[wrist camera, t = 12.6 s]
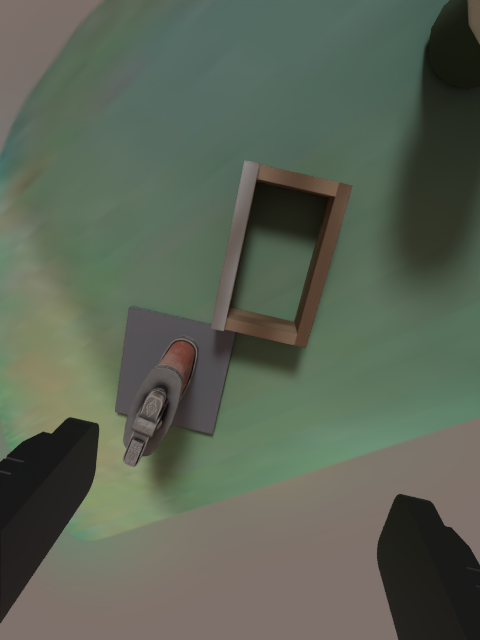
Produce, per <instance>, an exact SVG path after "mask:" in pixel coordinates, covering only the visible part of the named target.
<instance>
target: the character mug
mask: <svg viewBox="0 0 480 640" xmlns="http://www.w3.org/2000/svg"><path fill="white" fill-rule="evenodd" d="M428 54H429V57H430V61H431V64H432V67H433V70H434V72H435V73H436V74H437V75H438V76H439V77H440V78H441V79H443V80H444V81H445V82H446V83H447V84H448V85H453V86H457V87H462V88H467V89H468V88H472V87H476V86H480V0H450V1H449V2H448V3H447V4H446V5H444V7H443V9H442V10H441V12H440V14H439V16H438V17H437V19H436V21H435V23H434V25H433V26H432V28H431V35H430V41H429V48H428Z"/></svg>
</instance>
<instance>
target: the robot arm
mask: <svg viewBox="0 0 480 640" xmlns="http://www.w3.org/2000/svg"><path fill="white" fill-rule="evenodd" d="M98 438H99V425H98V424H97V423H93V422H89V421H84V420H80V419H76V418H71V417H70V418H67V419H66V420H65V421H64V422H63V423H62V424H61V425H60V426H59V427H58V428H57V429H56V430H55V431H54V432H53V433H52V434H50V433H46V432H42V433H39V434H37V435H35V436H33V437H31V438H29V439H27V440H25V441H23V442H22V443H21V444H19V445H18V446H17V447H16V448H15V449H14V450H13V451H12V452H11V453H10V454H8V455H7V458H6V459H3V460H2V461H1V462H0V623H1V622H2V620H3V619H4V617H5V616H6V614H7V613H8V611H9V610H10V608H11V607H12V605H13V604H14V603H15V601H16V599H17V598H18V596H19V595H20V594H21V592H22V590H23V589H24V588H25V586H26V585H27V583H28V582H29V580H30V579H31V577H32V576H33V574H34V573H35V571H36V570H37V568H38V567H39V565H40V564H41V562H42V561H43V559H44V558H45V556H46V555H47V553H48V552H49V550H50V549H51V547H52V546H53V544H54V543H55V541H56V540H57V539H58V537H59V536H60V534H61V533H62V531H63V530H64V528H65V527H66V525H67V524H68V522H69V521H70V519H71V518H72V516H73V515H74V513H75V512H76V510H77V509H78V507H79V506H80V504H81V503H82V501H83V500H84V498H85V497H86V495H87V494H88V492H89V490H90V487H91V485H92V482H93V479H94V475H95V470H96V459H97V448H98ZM377 561H378V567H379V570H380V574H381V578H382V581H383V585H384V589H385V592H386V596H387V599H388V603H389V606H390V611H391V614H392V617H393V621H394V625H395V629H396V632H397V636H398V640H480V565H479V563H478V561H477V559H476V558H475V556H474V554H473V552H472V550H471V549H470V547H469V546H468V545H467V544H466V543H465V542H464V541H463V540H462V539H461V537H460V536H459V535H458V534H457V533H456V532H455V531H454V530H453V529H452V528H451V527H446V526H445V525H444V524H443V522H442V520H441V518H440V516H439V514H438V512H437V510H436V508H435V507H434V505H433V503H432V502H431V501H428V500H424V499H420V498H416V497H411V496H407V495H403V494H399V495H397V496H396V498H395V499H394V502H393V504H392V507H391V509H390V512H389V514H388V517H387V520H386V522H385V525H384V527H383V530H382V532H381V535H380V538H379V541H378V547H377Z"/></svg>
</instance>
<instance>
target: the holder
mask: <svg viewBox="0 0 480 640" xmlns="http://www.w3.org/2000/svg"><path fill="white" fill-rule="evenodd" d="M257 182H260V183H264V184H269V185H273V186H277V187H282V188H286V189H291V190H295V191H300V192H304V193H308V194H313V195H317V196H322V197H326V198H328V200H327V204H326V207H325V211H324V215H323V218H322V222H321V226H320V229H319V233H318V237H317V240H316V244H315V248H314V251H313V255H312V259H311V262H310V266H309V270H308V273H307V277H306V281H305V284H304V288H303V292H302V296H301V299H300V303H299V307H298V310H297V314H296V318H295V321H294V322H292V321H288V320H283V319H279V318H275V317H270V316H266V315H261V314H257V313H253V312H248V311H244V310H240V309H235V308H231V307H230V305H231V301H232V296H233V292H234V287H235V282H236V278H237V273H238V268H239V264H240V259H241V255H242V250H243V245H244V241H245V236H246V231H247V227H248V222H249V218H250V213H251V208H252V204H253V199H254V194H255V190H256V185H257ZM351 189H352V185H348V184H343V183H339V182H335V181H330V180H326V179H321V178H317V177H313V176H308V175H304V174H299V173H295V172H290V171H286V170H282V169H277V168H273V167H268V166H264V165H260V164H258V163H254V162H250V161H244V166H243V171H242V176H241V181H240V186H239V191H238V196H237V201H236V205H235V210H234V215H233V220H232V225H231V230H230V235H229V240H228V245H227V250H226V255H225V259H224V264H223V269H222V274H221V279H220V284H219V289H218V294H217V299H216V304H215V309H214V313H213V318H212V323H211V328H212V329H216V330H221V331H224V329H225V330H229V331H234V332H238V333H242V334H247V335H251V336H256V337H260V338H264V339H269V340H273V341H278V342H282V343H286V344H291V345H295V346H299V347H304V348H306V346H307V342H308V339H309V336H310V332H311V329H312V325H313V322H314V318H315V315H316V311H317V308H318V304H319V301H320V297H321V294H322V290H323V287H324V283H325V280H326V276H327V273H328V269H329V266H330V262H331V259H332V255H333V252H334V249H335V245H336V242H337V238H338V235H339V231H340V228H341V224H342V221H343V217H344V214H345V210H346V207H347V203H348V200H349V196H350V193H351Z"/></svg>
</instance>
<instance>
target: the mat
mask: <svg viewBox="0 0 480 640" xmlns="http://www.w3.org/2000/svg"><path fill="white" fill-rule="evenodd" d="M235 333H236V332H234V331H229V330H225V329H224V331H221V330H216V329H212V328H211V324H207V323H203V322H199V321H194V320H190V319H185V318H181V317H177V316H172V315H168V314H164V313H159V312H155V311H150V310H146V309H142V308H137V307H133V306H131V307H129V310H128V318H127V325H126V333H125V340H124V348H123V355H122V363H121V370H120V378H119V385H118V393H117V400H116V407H115V412H118V413H122V414H127V415H128V414H129V410H130V407H131V404H132V402H133V400H134V398H135V396H136V394H137V392H138V390H139V388H140V386H141V385H142V383H143V382H144V380H145V379H146V377H147V376H148V374H149V373H150V372H151V370H152V369H153V368H154V367H155V366H158V364H159V362H160V360H161V358H162V356H163V354H164V353H165V351H166V350H167V348H168V347H169V345H170V344H171V342H172V341H173V340H174V339H175V338H176V337H178V336H188V337H190V338H192V339H194V340H195V342H196V343H197V345H198V347H199V352H198V357H197V362H196V367H195V369H194V372H193V375H192V378H191V381H190V383H189V385H188V387H187V389H186V391H185V393H184V395H183V397H182V398H181V400H180V402H179V405H178V408H177V411H176V414H175V417H174V419H173V421H172V423H171V425H175V426H179V427H183V428H188V429H192V430H196V431H201V432H205V433H210V434H213V431H214V426H215V422H216V418H217V413H218V409H219V404H220V400H221V395H222V391H223V386H224V382H225V378H226V373H227V369H228V364H229V360H230V355H231V351H232V347H233V342H234V338H235Z"/></svg>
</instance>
